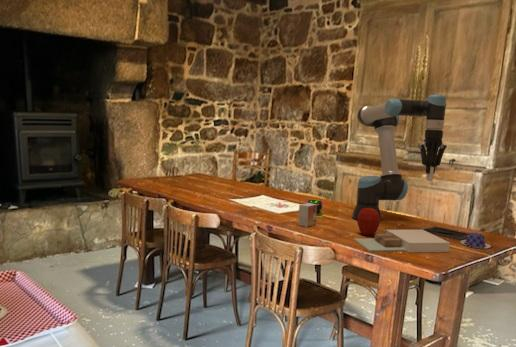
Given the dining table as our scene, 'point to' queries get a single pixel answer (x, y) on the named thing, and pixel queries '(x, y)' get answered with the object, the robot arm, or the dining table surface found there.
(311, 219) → the small box
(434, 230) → the picture frame
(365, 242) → the mat
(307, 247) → the dining table surface
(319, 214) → the toy cauldron
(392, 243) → the walnut block
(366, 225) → the dark red rounded piece
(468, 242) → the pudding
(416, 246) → the cream flat block
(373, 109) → the robot arm
